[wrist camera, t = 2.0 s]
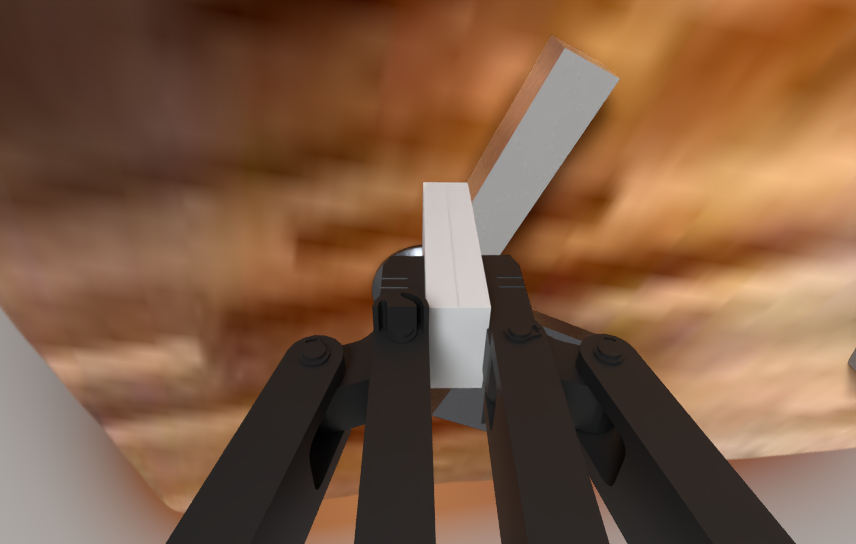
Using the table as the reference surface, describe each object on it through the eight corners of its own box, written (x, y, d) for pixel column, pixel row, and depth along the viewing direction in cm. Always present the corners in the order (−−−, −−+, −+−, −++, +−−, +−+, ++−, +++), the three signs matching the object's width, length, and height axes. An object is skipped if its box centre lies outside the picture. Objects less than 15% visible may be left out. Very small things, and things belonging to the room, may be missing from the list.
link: (436, 332, 40) (438, 360, 38) (380, 312, 39) (378, 340, 36) (612, 69, 29) (630, 84, 26) (540, 28, 27) (553, 41, 25)
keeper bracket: (345, 331, 41) (336, 387, 36) (402, 223, 35) (400, 273, 30) (511, 385, 45) (522, 442, 40) (586, 297, 39) (609, 351, 35)
